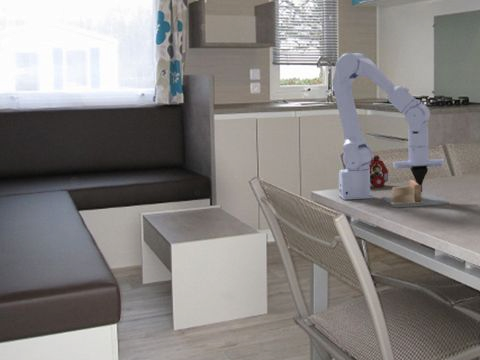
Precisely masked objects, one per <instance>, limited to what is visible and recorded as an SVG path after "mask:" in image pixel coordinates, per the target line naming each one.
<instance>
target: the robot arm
mask: <svg viewBox="0 0 480 360" xmlns="http://www.w3.org/2000/svg"><path fill="white" fill-rule="evenodd" d="M359 76H362V77H365V78H369V79H370V80H371V82H373V83H374V84H375V85H376V86H378V87H379V88H380V89H381V90H382V91H383V92H385V93H386V94H387V101H388V102H389V103H390V104H392V106H393V107H395V108H396V110H397V111H399V112H400V114H402V115H403V116H404V119H405V122H406V123H407V125H408V126H407V128H408V129H407V130H408V131H407V133H408V134H407V140H408V141H407V142H408V144H407V145H408V150H407V151H408V160H399V161H392V162H393V169H394V170H399V169H410V171H411V173H412V175H413V177H414V181H415V182H416V183H418V184H419V185H421V193H423V183H424V180H425V177H426V175H427V173H428V170H429V168H431V167H445V159H442V158H440V159H438V158H437V159H435V158H433V159H429V157H430V156H429V126H428V125H429V122H428V121H429V120H430V118H431V111H430V109H429V107H428V106H427V105H426V104H424V103H421V100H420V99H416V98H415V97H414V96H413V95H412V94H411V92H409V91H410V89H409V88H408V87H406V86H405V87H404V86H402V85H398V86H397V85H396V84H395V83H393V82H392V81H391V79H389V78H388V76H387V75H386V74H385V73H384V72H383V71H382V70H381V69H380V68H379V67H378V66H377V64H375V63H374V62H373V61H372V60H371V59H370V58H368V57H367V56H366V55H365V53H363V52H353V53H351V52H345V53H343V54H342V55H341V56H339V58H338V59H337V60H336V62H335V70H334V74H333V78H332V82H331V83H332V85H331V86H332V87H333V88H332V89H333V94H334V97H335V102H336V107H337V111H338V115H339V120H340V124H341V127H342V128H341V129H342V132H343V136H344V143H343V144H342V145H343V146H342V149H343V155H342V162H343V164H344V165H345V168H344V169H340V170H339V171H338V196H339V197H340V198H341V199H342V200H343V201H344V200H359V199H360V200H361V199H374V198H375V196H374V195H373V194H371V183H370V166H369V163H370V161H371V160H372V158H373V152H372V150H371V148H370V147H369V145H368V143H367V140H366V139H365V137H364V136H363V133H362V128H361V126H360V120H359V117H358V112H357V108H356V104H355V100H354V95H353V91H352V90H353V89H352V87H351V86H352V85H353V84H354V81H355V80H356V79H357V78H358V77H359Z"/></svg>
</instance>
